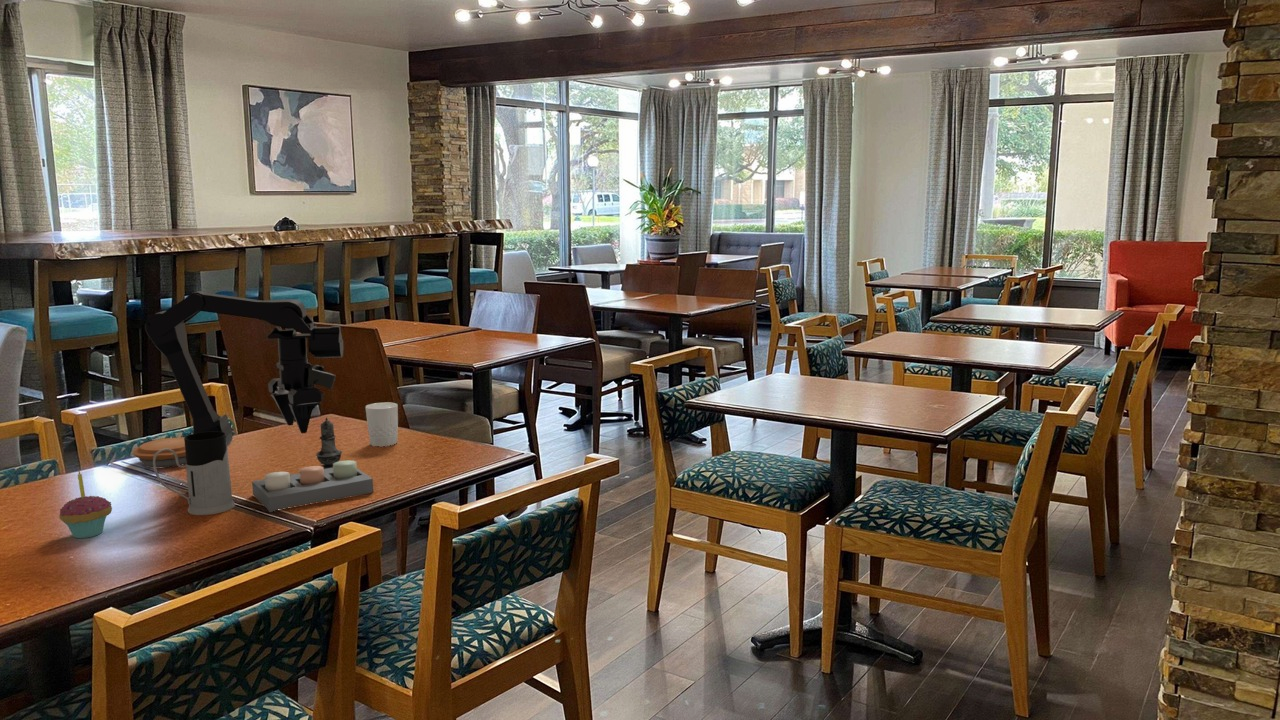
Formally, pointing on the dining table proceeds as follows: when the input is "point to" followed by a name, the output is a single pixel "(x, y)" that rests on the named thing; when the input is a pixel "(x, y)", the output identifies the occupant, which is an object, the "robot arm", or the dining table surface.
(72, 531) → the cupcake
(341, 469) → the sage button
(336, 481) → the console
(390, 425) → the white cup
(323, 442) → the grey chess piece
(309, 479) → the terracotta button
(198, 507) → the grey handled cylinder
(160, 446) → the pie
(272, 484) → the cream button
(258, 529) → the dining table surface
